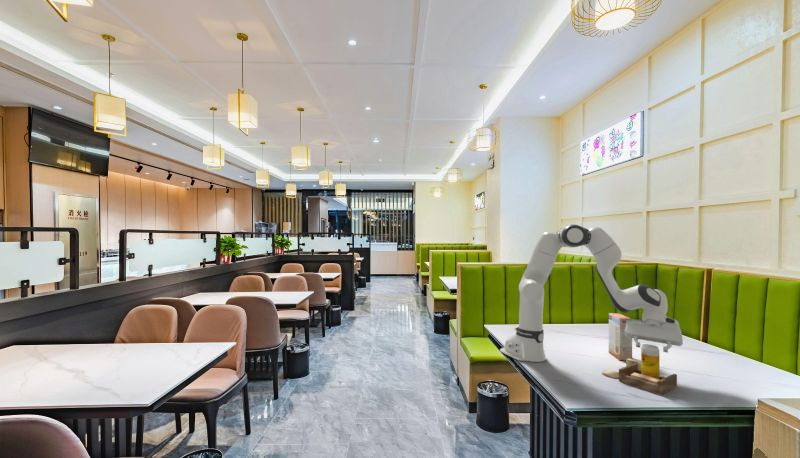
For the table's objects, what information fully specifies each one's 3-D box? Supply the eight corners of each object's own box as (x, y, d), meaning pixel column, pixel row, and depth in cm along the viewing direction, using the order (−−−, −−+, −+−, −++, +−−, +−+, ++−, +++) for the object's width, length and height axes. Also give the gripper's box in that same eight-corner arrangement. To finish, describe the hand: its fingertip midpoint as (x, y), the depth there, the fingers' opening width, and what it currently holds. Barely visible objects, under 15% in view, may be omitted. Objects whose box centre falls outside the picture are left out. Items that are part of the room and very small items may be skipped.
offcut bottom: (630, 384, 140) (630, 374, 140) (634, 382, 142) (634, 372, 142) (656, 392, 132) (656, 382, 132) (660, 390, 135) (660, 379, 135)
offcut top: (629, 365, 162) (626, 366, 160) (629, 358, 162) (626, 359, 160) (643, 369, 157) (640, 370, 155) (643, 362, 157) (640, 363, 155)
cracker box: (633, 362, 166) (632, 318, 167) (619, 360, 168) (619, 317, 169) (620, 353, 180) (620, 313, 181) (608, 352, 181) (608, 312, 182)
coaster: (598, 373, 150) (598, 372, 150) (607, 370, 154) (607, 369, 154) (618, 380, 143) (618, 378, 143) (627, 376, 147) (627, 375, 147)
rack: (618, 381, 142) (618, 368, 142) (635, 374, 150) (635, 363, 150) (661, 395, 129) (661, 381, 130) (677, 387, 137) (676, 374, 137)
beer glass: (637, 379, 144) (637, 343, 144) (651, 379, 144) (651, 343, 145) (649, 385, 138) (649, 348, 138) (663, 385, 138) (663, 348, 139)
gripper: (625, 314, 158) (621, 339, 150) (682, 321, 144) (681, 350, 136) (627, 322, 161) (623, 347, 153) (683, 330, 147) (682, 358, 139)
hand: (651, 349), depth 145 cm, fingers open, 8 cm apart
